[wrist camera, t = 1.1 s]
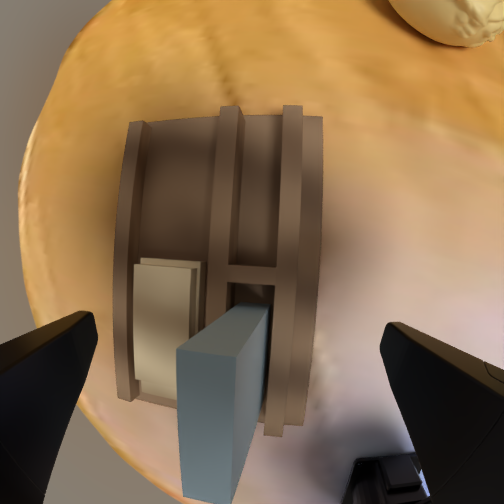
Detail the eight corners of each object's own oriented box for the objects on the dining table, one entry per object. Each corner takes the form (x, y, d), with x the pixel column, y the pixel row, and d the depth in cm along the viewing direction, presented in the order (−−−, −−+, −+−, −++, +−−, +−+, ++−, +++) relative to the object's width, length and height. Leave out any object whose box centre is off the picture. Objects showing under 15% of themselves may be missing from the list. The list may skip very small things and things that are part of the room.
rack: (303, 419, 20) (302, 444, 17) (133, 392, 23) (111, 408, 19) (321, 122, 21) (324, 100, 17) (145, 127, 23) (124, 111, 19)
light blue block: (263, 399, 20) (230, 506, 9) (235, 396, 20) (183, 496, 9) (270, 304, 20) (236, 356, 9) (240, 301, 20) (176, 348, 9)
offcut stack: (202, 397, 21) (191, 411, 18) (148, 386, 21) (134, 398, 19) (206, 261, 21) (194, 262, 18) (148, 257, 21) (131, 258, 19)
